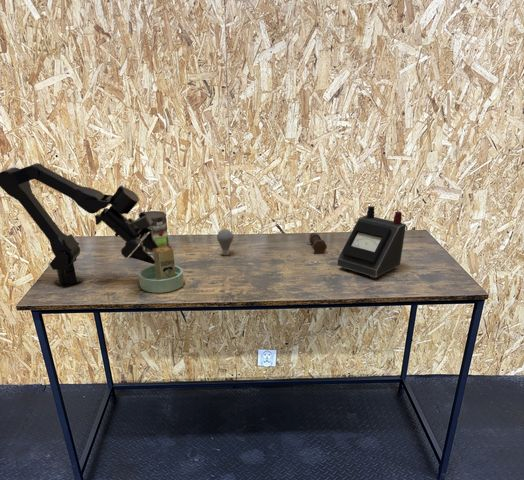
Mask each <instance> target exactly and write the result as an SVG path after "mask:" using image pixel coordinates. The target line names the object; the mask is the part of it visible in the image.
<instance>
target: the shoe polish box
mask: <svg viewBox="0 0 524 480" xmlns="http://www.w3.org/2000/svg"><path fill="white" fill-rule="evenodd" d="M152 255H153V257H152V258H153V259H154V260H155V263H154V264H153V265H154V266H155V274H156V280H164V279H169V278H173V277H175V276H176V275H175V254H174V249H173V248H171V247H170V246H169V247H167V246H164V247H159V248H154V249H153V254H152Z"/></svg>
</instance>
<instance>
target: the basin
mask: <svg viewBox="0 0 524 480" xmlns="http://www.w3.org/2000/svg"><path fill="white" fill-rule="evenodd" d="M174 265H175V264H174ZM175 275H176V276H175V277H173V278H169V279H164V280H156V274H155V266H154V264H151V265H149V266H146V267H143V268H142V269H140V270H139V271H138V281H139V287H140V289H141V290H143V291H145V292H149V293H154V294H162V293H163V294H164V293H170V292H173V291H176V290H179V289H180V288H182V287H183V286H184V285H185V281H184V271H183V268H182V267H180V266H179V265H175Z"/></svg>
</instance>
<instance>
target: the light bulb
mask: <svg viewBox="0 0 524 480" xmlns="http://www.w3.org/2000/svg"><path fill="white" fill-rule="evenodd" d="M216 239H217V243H218V244H220V248H221V251H222V252H221V253H222V255H223V256H228V255H230V248H231V244H232V242H233V241H234V235H233V233H232V232H231V230H230V229H227V228H223V229H220V230H219V231H218V232H217V235H216Z"/></svg>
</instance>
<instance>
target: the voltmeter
mask: <svg viewBox="0 0 524 480" xmlns="http://www.w3.org/2000/svg"><path fill="white" fill-rule="evenodd" d="M402 215H403V212H401V211H395V212H394V216H393V220H390V219H385V218H381V217H376V216H375V206H373V205H369V206H368V207H367V211H366V215H363V216H360V217H358V219H357V221H356V223H355V224H354V226H353V227H352V230H351V233H350V234H349V235H348V238H347V240H346V242H345V244H344V246H343V247H342V249H341V252H340V254H339V255H338V257H337V262H336V266H337V267H340V268H341V269H342V271H348V270H351V271H353V272H356V273H360V274H364V275H367V276H369V277H370V279H372V280H376V279H377V278H378V277H379V276H381V275H383V274H385V273H387V272H389V271H392V270H393V271H394V270H395V269H396V267H399V266H401V261H402V254H403V247H404V240H405V234H406V228H407V223H404V222H402V219H403V217H402Z"/></svg>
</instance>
